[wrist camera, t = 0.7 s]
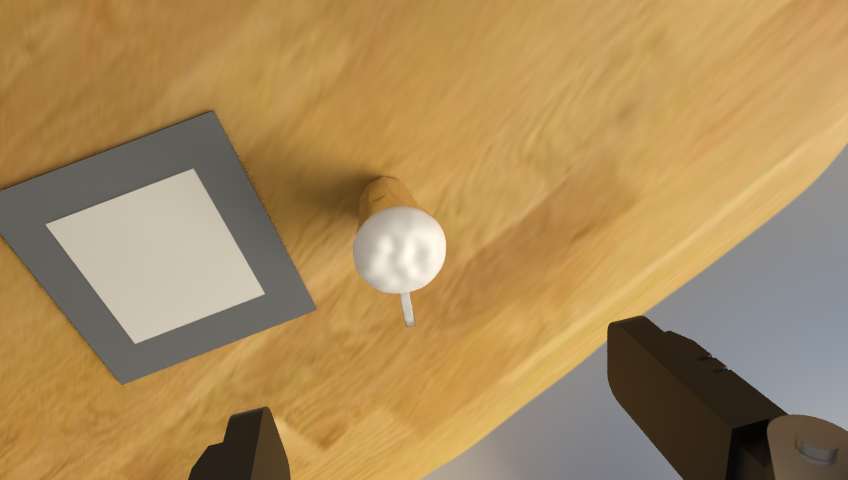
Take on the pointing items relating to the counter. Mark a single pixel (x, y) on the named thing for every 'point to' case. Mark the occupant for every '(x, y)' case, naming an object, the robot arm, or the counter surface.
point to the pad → (156, 248)
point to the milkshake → (396, 241)
